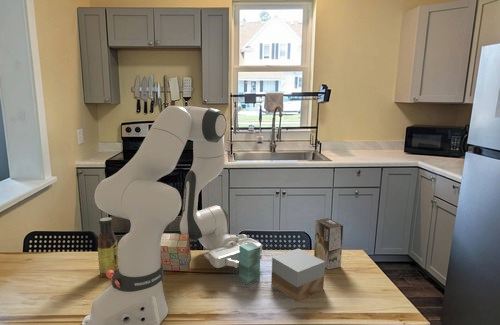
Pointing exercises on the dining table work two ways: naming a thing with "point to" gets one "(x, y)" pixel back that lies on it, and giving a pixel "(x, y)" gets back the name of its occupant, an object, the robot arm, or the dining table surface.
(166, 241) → the stack of blocks
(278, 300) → the dining table surface
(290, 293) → the tower base
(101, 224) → the sauce bottle
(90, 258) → the dining table surface
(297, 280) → the tower top
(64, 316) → the dining table surface
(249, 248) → the teal block
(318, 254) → the coffee box
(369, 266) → the dining table surface
